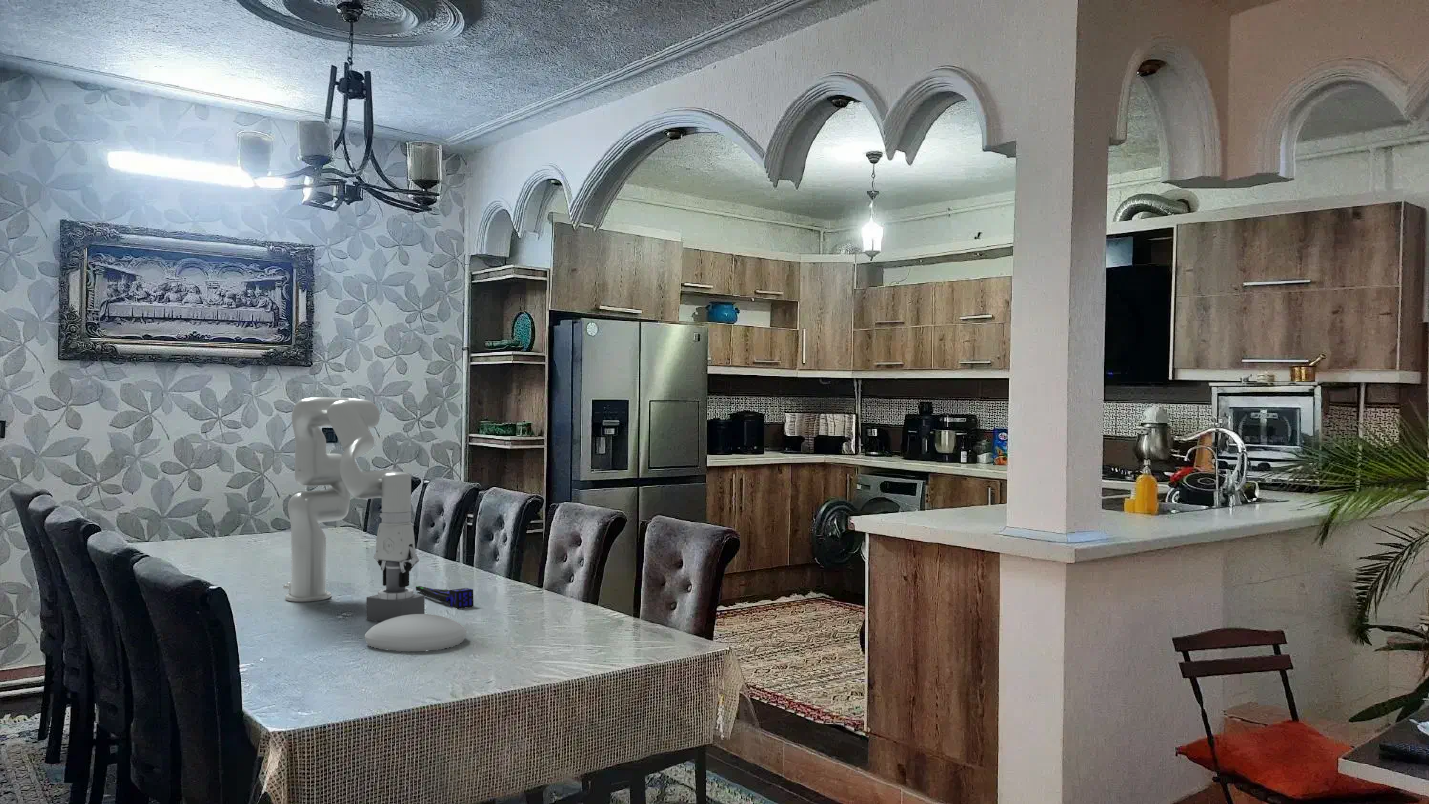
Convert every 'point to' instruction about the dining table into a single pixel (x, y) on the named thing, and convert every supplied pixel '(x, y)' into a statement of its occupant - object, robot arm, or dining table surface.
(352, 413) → the robot arm
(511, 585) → the dining table surface
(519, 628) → the dining table surface
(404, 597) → the camera body
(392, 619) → the decorative item
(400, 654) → the dining table surface
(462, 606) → the toy
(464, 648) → the dining table surface
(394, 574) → the lens
